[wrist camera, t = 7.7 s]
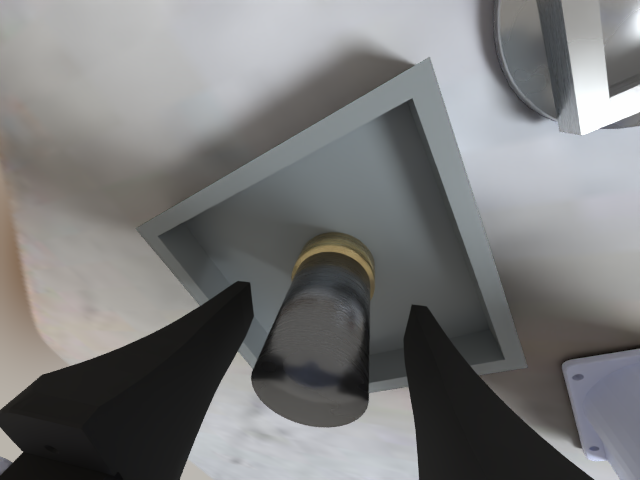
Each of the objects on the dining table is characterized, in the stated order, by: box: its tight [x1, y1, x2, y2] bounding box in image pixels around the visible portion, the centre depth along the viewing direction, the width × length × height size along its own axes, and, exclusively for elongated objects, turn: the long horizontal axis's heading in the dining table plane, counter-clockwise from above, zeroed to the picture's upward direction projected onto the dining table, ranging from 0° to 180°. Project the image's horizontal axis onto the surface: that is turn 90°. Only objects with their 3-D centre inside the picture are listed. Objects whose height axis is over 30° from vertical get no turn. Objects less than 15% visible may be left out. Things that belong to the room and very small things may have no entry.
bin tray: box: [135, 57, 528, 393], centre depth 14 cm, size 14×14×2 cm
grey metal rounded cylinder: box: [251, 232, 375, 427], centre depth 11 cm, size 4×4×7 cm
